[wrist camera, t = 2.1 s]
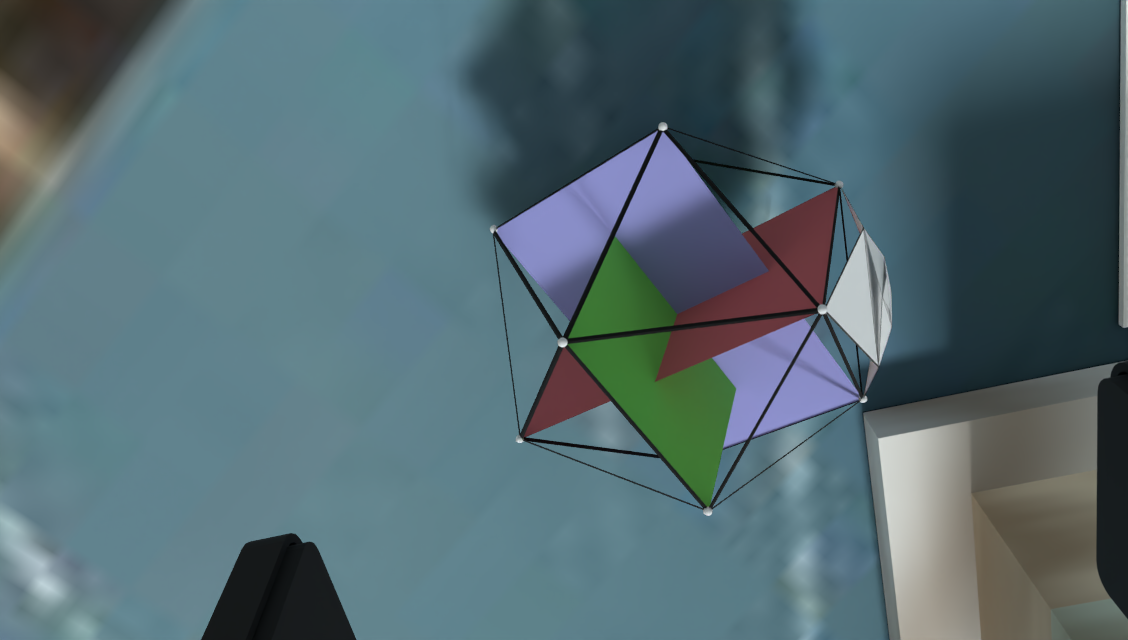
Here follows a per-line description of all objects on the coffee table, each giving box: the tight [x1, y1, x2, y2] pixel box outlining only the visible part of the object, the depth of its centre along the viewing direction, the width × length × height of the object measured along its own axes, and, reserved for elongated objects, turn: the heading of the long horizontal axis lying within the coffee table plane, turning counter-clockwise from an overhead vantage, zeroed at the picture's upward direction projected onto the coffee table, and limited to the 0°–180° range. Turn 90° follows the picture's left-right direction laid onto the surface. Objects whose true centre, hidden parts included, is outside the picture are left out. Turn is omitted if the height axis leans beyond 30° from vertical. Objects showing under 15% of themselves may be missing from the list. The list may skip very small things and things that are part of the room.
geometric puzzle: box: [490, 122, 892, 516], centre depth 18 cm, size 7×7×8 cm
